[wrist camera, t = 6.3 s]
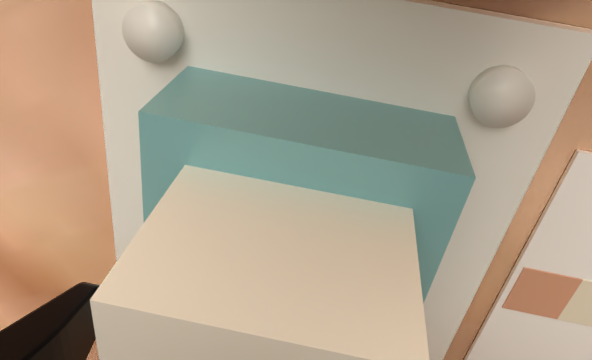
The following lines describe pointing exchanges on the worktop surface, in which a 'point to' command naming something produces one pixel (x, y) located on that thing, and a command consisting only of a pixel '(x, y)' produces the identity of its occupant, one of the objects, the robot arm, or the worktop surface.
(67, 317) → the robot arm
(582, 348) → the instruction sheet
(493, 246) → the build plate
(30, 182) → the worktop surface
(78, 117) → the worktop surface
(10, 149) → the worktop surface
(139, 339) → the cream brick
